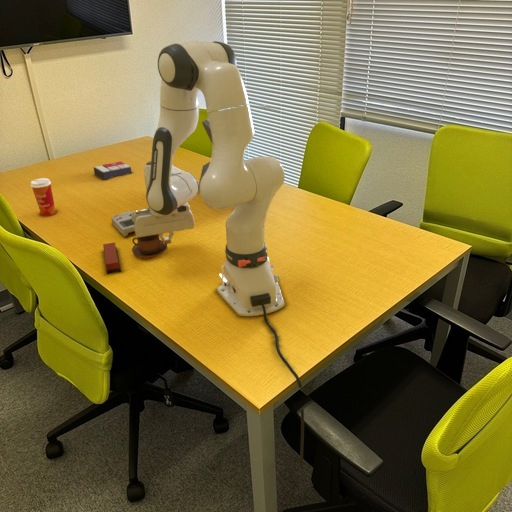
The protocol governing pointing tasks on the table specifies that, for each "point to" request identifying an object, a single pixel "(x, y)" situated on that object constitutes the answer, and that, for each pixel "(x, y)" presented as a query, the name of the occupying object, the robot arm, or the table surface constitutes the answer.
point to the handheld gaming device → (124, 223)
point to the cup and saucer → (148, 246)
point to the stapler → (111, 258)
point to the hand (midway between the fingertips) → (167, 243)
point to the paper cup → (44, 196)
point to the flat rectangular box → (112, 170)
